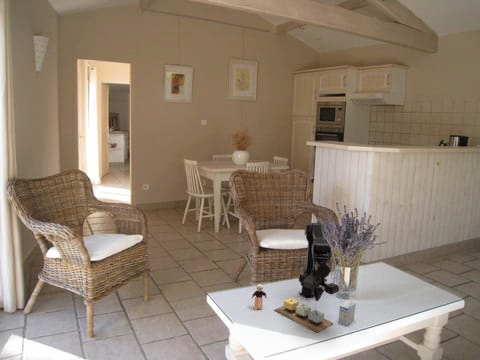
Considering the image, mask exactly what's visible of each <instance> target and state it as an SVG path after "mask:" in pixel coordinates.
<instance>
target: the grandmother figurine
mask: <svg viewBox="0 0 480 360" xmlns="http://www.w3.org/2000/svg"><path fill="white" fill-rule="evenodd" d="M263 289H264V286H263V285H262V284H261V283H259V284H257V285H256V291H254V292H253V293H252V295H251V300H252V299H254V304H253V305H254V307H253V309H252V310H255V311H257V310H263V301H264V299H263V297H264V298H265V299H267V298H268V296H267V293H266V292H265V291H263ZM254 297H255V298H254Z"/></svg>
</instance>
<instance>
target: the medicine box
mask: <svg viewBox="0 0 480 360" xmlns="http://www.w3.org/2000/svg"><path fill="white" fill-rule="evenodd" d="M355 312H356V303H355V302H353V301H349V300H346V301H345V302H343V303H342V304H341V305H340V306H339V311H338V320H337V321H338V324H340V325H342V326H345V327H348V325H350V324H351V323H352V322H353V321H354V319H355Z"/></svg>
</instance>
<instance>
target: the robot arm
mask: <svg viewBox="0 0 480 360" xmlns="http://www.w3.org/2000/svg"><path fill="white" fill-rule="evenodd" d="M304 235H305V238H306V241H307V251H306V261H305V262H306V263H305V264H306V265H305V267H304V268H303V269H302V272H301V273H302V274H300V275H299V276H298V282H299V283H300V286H301V292H299V293H298V294H299V296H302V297H304V298H306V299H308V300H309V299H311V298H314V300H315V302H319V301H320V298H322V296H323V294H324V292H325V293H327V294H328V295H334V294H336V293H339V291H340V286H339V284H335V283H333V282H330V283H326V282H327V281H328V279H327V277H329V275H330V274H331V269H330V266H329V264H328V261H331V260H332V259H331V258H332V255H333V253H332V247H331V245H330V243H329V241H328V239H325V238H324V235H323V225H322V224H321V223H319V222H311V223H309V224H307V225H305V226H304Z"/></svg>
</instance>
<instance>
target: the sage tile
mask: <svg viewBox="0 0 480 360" xmlns="http://www.w3.org/2000/svg"><path fill="white" fill-rule="evenodd" d="M311 311H312V307H311V306H310V305H307V304H305V303H299V304H298V306H296V313H298V314H300V315H302V316H306V315H308V314H309V312H311Z"/></svg>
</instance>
